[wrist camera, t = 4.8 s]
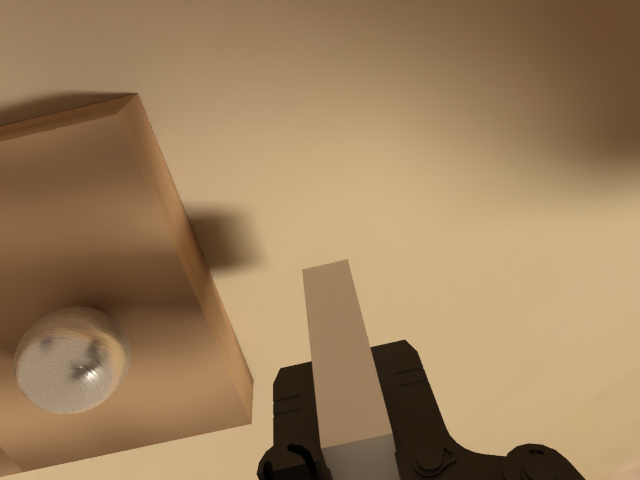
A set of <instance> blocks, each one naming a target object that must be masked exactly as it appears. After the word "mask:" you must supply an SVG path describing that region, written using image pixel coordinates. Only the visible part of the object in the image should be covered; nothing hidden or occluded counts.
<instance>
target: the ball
mask: <svg viewBox="0 0 640 480" xmlns="http://www.w3.org/2000/svg"><path fill="white" fill-rule="evenodd" d="M130 364H131V345H130V341H129V338H128V335H127V333H126V331H125V330H124V328H123V327H122V325H121V324H120V323H119V322H118V321H117V320H116V319H115V318H114V317H112V316H111V315H109V314H107V313H106V312H104V311H101V310H99V309H96V308H92V307H85V306H72V307H66V308H61V309H58V310H55V311H53V312H51V313H48V314H47V315H45V316H43V317H42V318H40V319H39V320H37V321H36V322H35V323H34V324H33V325H32V326H30V328H29V329H28V330H27V331H26V332H25V334H24V335H23V336H22V338H21V340H20V342H19V344H18V346H17V349H16V352H15V355H14V362H13V370H14V377H15V381H16V384H17V386H18V388H19V390H20V391H21V393H22V394H23V396H24V397H25V398H26V399H27V400H28V401H29V402H31V403H32V404H33V405H35V406H36V407H38V408H40V409H42V410H44V411H47V412H50V413H55V414H77V413H81V412H85V411H88V410H91V409H93V408H95V407H97V406H99V405H101V404H102V403H104V402H105V401H107V400H108V399H109V398H110V397H112V396H113V395H114V394H115V393H116V391H117V390H118V389H119V388H120V386H121V385H122V383H123V382H124V380H125V378H126V376H127V374H128V371H129V368H130Z"/></svg>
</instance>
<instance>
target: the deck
mask: <svg viewBox="0 0 640 480" xmlns="http://www.w3.org/2000/svg"><path fill="white" fill-rule="evenodd" d="M72 306H85V307H92V308H96V309H99V310H101V311H104V312H106V313H107V314H109V315H111V316H112V317H114V318H115V319H116V320H117V321H118V322H119V323H120V324H121V325H122V327H123V328H124V330H125V331H126V333H127V335H128V338H129V341H130V345H131V364H130V368H129V371H128V374H127V376H126V378H125V380H124V382H123V383H122V385H121V386H120V388H119V389H118V390H117V391H116V393H115V394H114V395H113V396H112V397H110V398H109V399H108V400H107V401H105V402H104V403H102V404H101V405H99V406H97V407H95V408H93V409H91V410H88V411H85V412H81V413H77V414H55V413H50V412H47V411H44V410H42V409H40V408H38V407H36V406H35V405H33V404H32V403H31V402H29V401H28V400H27V399H26V398H25V397H24V396H23V394H22V393H21V391H20V390H19V388H18V386H17V384H16V381H15V377H14V370H13V362H14V355H15V352H16V349H17V346H18V344H19V342H20V340H21V338H22V336H23V335H24V334H25V332H26V331H27V330H28V329H29V328H30V326H32V325H33V324H34V323H35V322H36V321H37V320H39V319H40V318H42V317H43V316H45V315H47V314H48V313H51V312H53V311H55V310H58V309H61V308H66V307H72ZM252 401H253V378H252V376H251V373H250V371H249V368H248V366H247V363H246V361H245V358H244V356H243V353H242V351H241V348H240V346H239V343H238V341H237V338H236V336H235V333H234V331H233V328H232V326H231V324H230V321H229V319H228V316H227V314H226V311H225V309H224V306H223V304H222V301H221V299H220V296H219V294H218V291H217V289H216V286H215V284H214V281H213V279H212V276H211V274H210V272H209V269H208V267H207V264H206V262H205V259H204V257H203V254H202V252H201V249H200V247H199V244H198V242H197V239H196V237H195V234H194V232H193V229H192V227H191V224H190V222H189V220H188V217H187V215H186V212H185V210H184V207H183V205H182V202H181V200H180V197H179V195H178V192H177V190H176V187H175V185H174V182H173V180H172V177H171V175H170V172H169V170H168V167H167V165H166V163H165V160H164V158H163V155H162V153H161V150H160V148H159V145H158V143H157V140H156V138H155V135H154V133H153V130H152V128H151V125H150V123H149V120H148V118H147V115H146V113H145V111H144V108H143V106H142V103H141V101H140V98H139V96H138V93H137V94H133V95H129V96H125V97H120V98H116V99H112V100H108V101H104V102H99V103H95V104H91V105H87V106H83V107H78V108H74V109H70V110H66V111H61V112H57V113H53V114H49V115H45V116H40V117H36V118H32V119H28V120H24V121H19V122H15V123H11V124H7V125H3V126H0V477H2V476H7V475H12V474H16V473H21V472H26V471H31V470H35V469H40V468H45V467H50V466H54V465H59V464H64V463H68V462H73V461H78V460H83V459H87V458H92V457H97V456H101V455H106V454H111V453H116V452H120V451H125V450H130V449H135V448H139V447H144V446H149V445H153V444H158V443H163V442H168V441H172V440H177V439H182V438H186V437H191V436H196V435H201V434H205V433H210V432H215V431H219V430H224V429H229V428H234V427H238V426H243V425H248V424H251V423H252Z"/></svg>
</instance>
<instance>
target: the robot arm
mask: <svg viewBox="0 0 640 480" xmlns="http://www.w3.org/2000/svg"><path fill="white" fill-rule="evenodd" d="M302 272H303V281H304V291H305V301H306V310H307V320H308V330H309V339H310V349H311V358H312V361H311V362H307V363H302V364H298V365H293V366H289V367H284V368H280V370H279V372H278V375H277V377H276V379H275V381H274V383H273V402H274V404H273V415H274V417H273V440H274V446H272V447H271V448H270V449H269V450H268V451H266V453H265V454H264V456H263V457H262V459H261V460H260V462H259V466H258V470H257V476H258V478H259V480H585V479H584V477H583V476H582V475H581V474H580V473H579V472H578V471H577V470H576V469H575V468H574V466H573V465H572V464H571V463H570V462H569V461H568V460H567V459H566V458H565V457H563V456H562V455H561V454H560V453H558V452H557V451H556V450H554V449H551V448H549V447H547V446H544V445H540V444H529V443H528V444H524V445H521V446H517V447H515V448H514V449H513V450H512V451H510V452H509V453H508V454H507V456H496V455H486V454H480V453H475V452H472V451H470V450H468V449H465V448H464V447H462V446H461V445H459V444H458V443H456V441H455V440H454V439H453V438H452V437H451V436H450V434H449V432H448V431H447V429H446V426H445V424H444V421H443V418H442V416H441V413H440V410H439V408H438V405H437V402H436V400H435V397H434V394H433V392H432V389H431V386H430V384H429V382H428V378H427V376H426V373H425V371H424V369H423V365H422V363H421V360H420V357H419V355H418V352H417V351H416V350H415V349H414V348H413V347H412V346H411V345H410V344H409V343H408V342H407V341H406V340H401V341H397V342H392V343H388V344H383V345H379V346H374V347H370V344H369V340H368V337H367V333H366V329H365V325H364V321H363V317H362V313H361V310H360V306H359V302H358V298H357V294H356V290H355V286H354V282H353V279H352V275H351V271H350V267H349V263H348V259H347V260H343V261H339V262H334V263H330V264H325V265H321V266H317V267H312V268H308V269H303V270H302Z"/></svg>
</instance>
